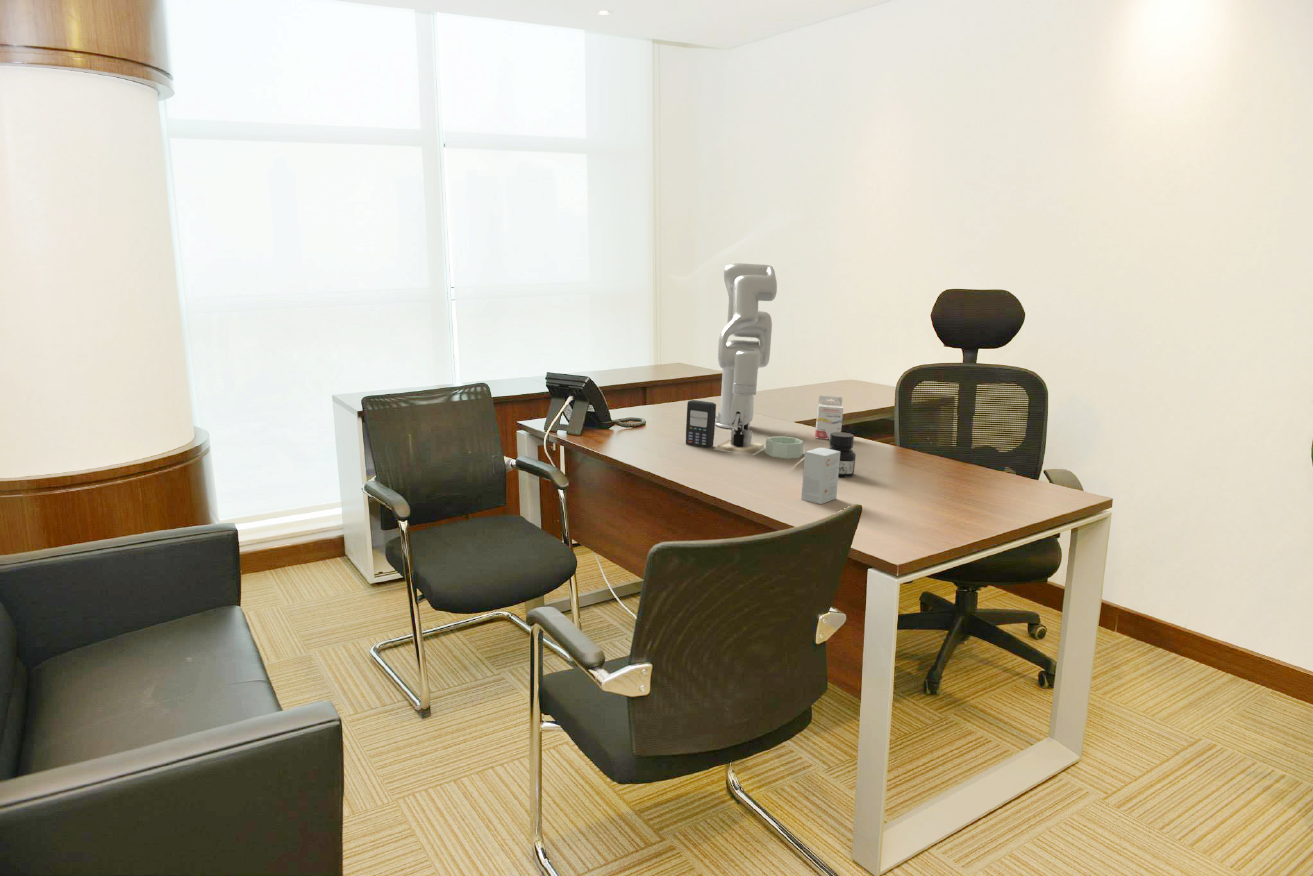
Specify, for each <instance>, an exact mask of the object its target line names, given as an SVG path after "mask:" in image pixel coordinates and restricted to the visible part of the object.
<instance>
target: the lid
mask: <svg viewBox="0 0 1313 876" xmlns="http://www.w3.org/2000/svg"><path fill="white" fill-rule="evenodd" d="M743 434H744V440H743V446H742V447H740V446H734V445H733V440H734V429H731V433H730V439H728V440H726V441H724V442H722V443H720V444H719V445H717V446H716V447H717V449H719V450H718V451H720V450H727V451H734V452H733V453H735V452H741V453H740V454H742V453H748V454H747V455H749V454H754V453H755V452H757V451H758V450H760V449H761V448H763V447H764V446H765V444H764V443H758V442H752V438H753V437H752V435H753V430H751V429H749V430H745V429H744V430H743ZM727 451H726V452H727Z"/></svg>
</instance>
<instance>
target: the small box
mask: <svg viewBox="0 0 1313 876" xmlns="http://www.w3.org/2000/svg"><path fill="white" fill-rule="evenodd" d="M839 462H840V451H836V450H832V449H829V448H826V447H817V448H814V449H809V450H807V451H804V459H803V471H802V472H803V473H802V484H801V485H802V487H801V500H802V501H807V502H811V503H814V504H819V505H823V504H826V503H828V502H831V501H833V500H836V499H837V493H838V482H839V477H838V474H839Z"/></svg>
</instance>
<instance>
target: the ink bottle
mask: <svg viewBox="0 0 1313 876" xmlns="http://www.w3.org/2000/svg"><path fill="white" fill-rule="evenodd" d="M854 437H855V435H854V434H852V433H850V432H848V433H847V432H842V431H841V432H833V433H831V434H830V439H829V448H828V449H832V450H836V451H840V462H839V474H838V478H850V477H853V476H854V475H855V468H856V467H855V466H856V455H857V454H856V452H855V451H854V450H853V448H854V440H855V439H854Z"/></svg>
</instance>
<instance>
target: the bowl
mask: <svg viewBox="0 0 1313 876" xmlns="http://www.w3.org/2000/svg"><path fill="white" fill-rule="evenodd" d="M765 447H766V448H765V449H764V450H765V452H764V453H765V454H766V455H768V456H770V457H772V458H773V457H774V458H779V459H800V457H803V453H804V440H801V439H799V438H797V437H790V436H784V435H783V436H780V435H779V436H769V437H768V438H766V439H765Z"/></svg>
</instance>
